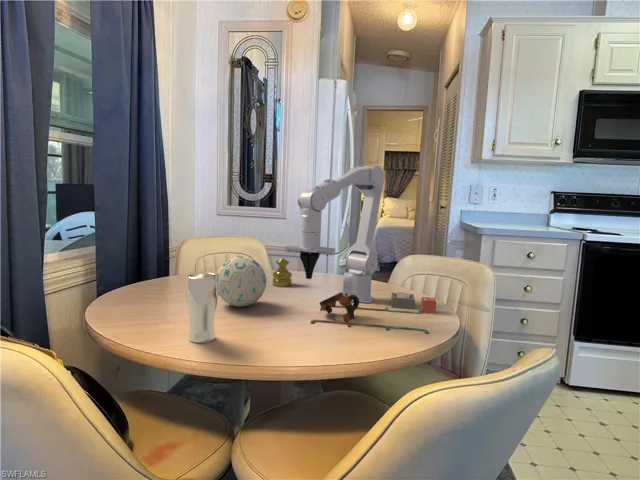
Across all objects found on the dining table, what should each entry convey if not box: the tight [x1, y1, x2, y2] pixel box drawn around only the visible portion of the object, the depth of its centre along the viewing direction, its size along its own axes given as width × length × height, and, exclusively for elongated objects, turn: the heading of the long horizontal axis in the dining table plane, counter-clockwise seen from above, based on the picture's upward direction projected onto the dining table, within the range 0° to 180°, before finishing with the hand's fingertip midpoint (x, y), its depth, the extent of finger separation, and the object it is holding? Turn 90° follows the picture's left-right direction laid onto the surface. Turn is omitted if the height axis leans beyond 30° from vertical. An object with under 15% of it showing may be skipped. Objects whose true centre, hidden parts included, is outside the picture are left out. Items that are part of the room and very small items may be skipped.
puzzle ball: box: [216, 255, 267, 308], centre depth 123 cm, size 15×15×15 cm
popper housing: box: [390, 292, 416, 310], centre depth 131 cm, size 7×7×3 cm
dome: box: [395, 291, 411, 298], centre depth 131 cm, size 4×4×3 cm
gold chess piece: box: [271, 258, 293, 288], centre depth 153 cm, size 7×7×10 cm
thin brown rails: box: [310, 305, 429, 335], centre depth 117 cm, size 31×21×1 cm
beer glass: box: [185, 272, 219, 344], centre depth 95 cm, size 7×7×15 cm
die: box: [420, 296, 437, 315], centre depth 125 cm, size 4×4×4 cm
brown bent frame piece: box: [319, 291, 360, 322], centre depth 116 cm, size 12×10×8 cm
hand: (309, 278), depth 119 cm, fingers closed
